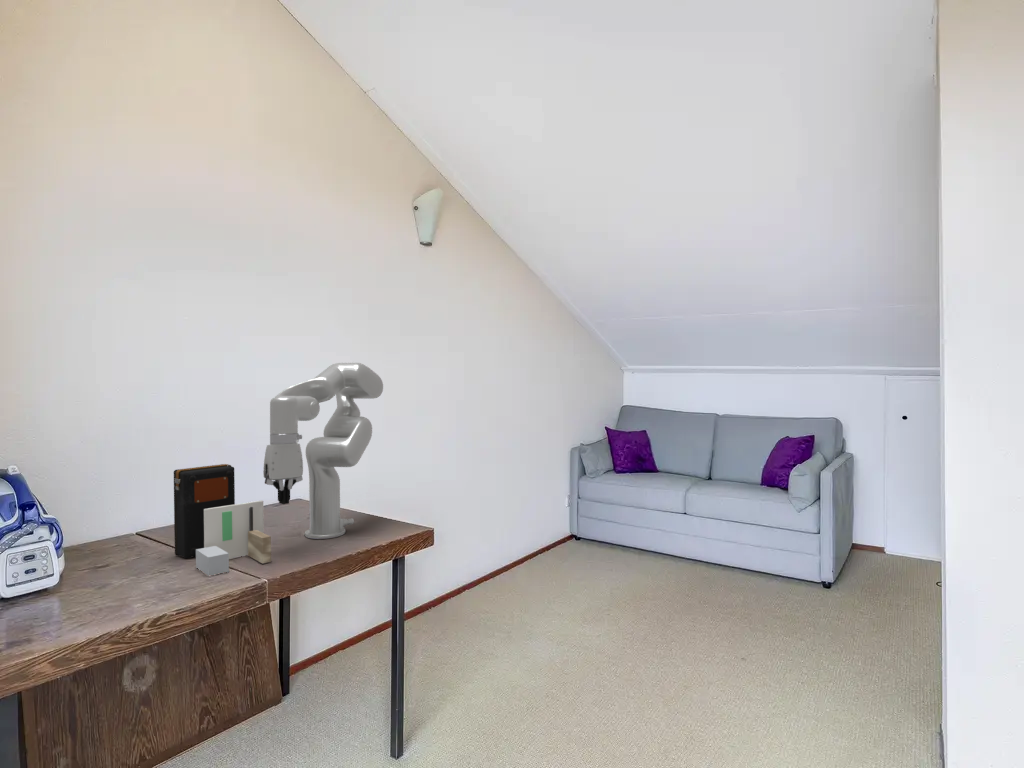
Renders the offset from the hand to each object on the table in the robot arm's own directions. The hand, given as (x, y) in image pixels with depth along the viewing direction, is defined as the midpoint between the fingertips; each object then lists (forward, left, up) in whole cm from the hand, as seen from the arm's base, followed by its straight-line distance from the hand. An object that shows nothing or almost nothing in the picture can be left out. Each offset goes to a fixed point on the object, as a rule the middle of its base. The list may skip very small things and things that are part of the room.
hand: (283, 503), depth 174 cm
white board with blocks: (+13, -2, -15) cm, 20 cm away
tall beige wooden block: (+7, 0, -15) cm, 16 cm away
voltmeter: (+15, -19, -15) cm, 29 cm away
